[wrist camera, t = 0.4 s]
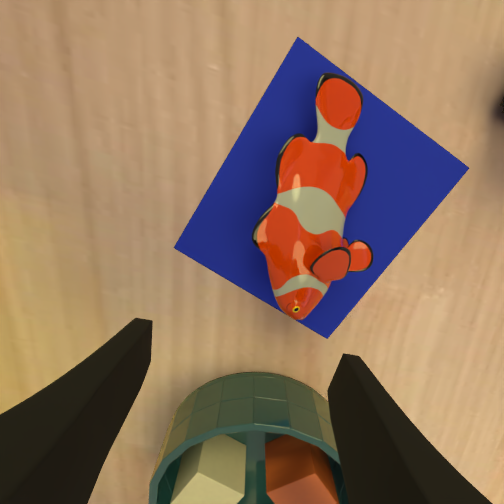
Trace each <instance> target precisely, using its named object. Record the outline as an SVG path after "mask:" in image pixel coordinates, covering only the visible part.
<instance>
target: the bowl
mask: <svg viewBox="0 0 504 504" xmlns="http://www.w3.org/2000/svg"><path fill="white" fill-rule="evenodd" d="M221 434H225V435H227V436H229V437H231V438H233V439H235V440H236V441H238V442H240V443H242V444H244V445H246V464H245V492H244V497H243V498H242V499H241V500H240V501H239V502H238V503H237V504H275V503H274V502H273V501H272V500H271V498H270V497H269V496H268V495H267V493H266V463H265V443H267V442H269V441H272V440H274V439H276V438H279V437H281V436H283V435H285V434H287V435H290V436H293V437H295V438H298V439H300V440H303V441H305V442H308V443H310V444H313V445H315V446H318V447H319V448H320V449H321V450H323V451H324V452H325V453H326V454H327V456H328V459H329V463H330V467H331V471H332V475H333V479H334V484H335V488H336V492H337V496H338V500H339V504H349V502H348V497H347V492H346V486H345V482H344V478H343V473H342V469H341V465H340V460H339V456H338V451H337V447H336V443H335V438H334V433H333V429H332V424H331V420H330V412H329V403H328V402H327V401H326V400H325V399H324V398H323V397H322V396H321V395H320V394H319V393H317V392H316V391H315V390H313V389H312V388H310V387H309V386H307V385H305V384H303V383H301V382H299V381H297V380H294V379H292V378H289V377H285V376H282V375H278V374H272V373H264V372H246V373H237V374H231V375H227V376H224V377H220V378H217V379H215V380H213V381H210V382H208V383H206V384H204V385H203V386H201V387H199V388H198V389H196V390H195V391H194V392H192V393H191V394H190V395H189V396H188V397H187V398H186V399H185V400H184V401H183V402H182V403H181V404H180V406H179V407H178V409H177V410H176V412H175V414H174V416H173V418H172V420H171V423H170V425H169V427H168V429H167V432H166V435H165V438H164V441H163V444H162V447H161V450H160V453H159V456H158V459H157V462H156V465H155V468H154V471H153V474H152V477H151V480H150V485H149V503H148V504H170V502H171V498H172V494H173V490H174V486H175V482H176V478H177V474H178V470H179V466H180V462H181V458H182V454H183V453H184V452H185V451H186V450H187V449H188V448H189V447H191V446H193V445H196V444H198V443H201V442H203V441H206V440H208V439H211V438H213V437H215V436H218V435H221Z"/></svg>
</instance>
